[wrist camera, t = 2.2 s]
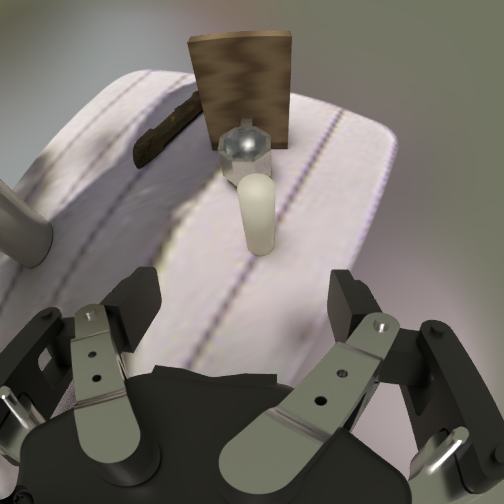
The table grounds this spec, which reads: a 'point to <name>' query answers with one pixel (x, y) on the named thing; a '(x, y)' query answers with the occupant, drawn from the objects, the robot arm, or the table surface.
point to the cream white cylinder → (258, 212)
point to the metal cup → (244, 152)
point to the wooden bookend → (244, 81)
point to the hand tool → (165, 131)
